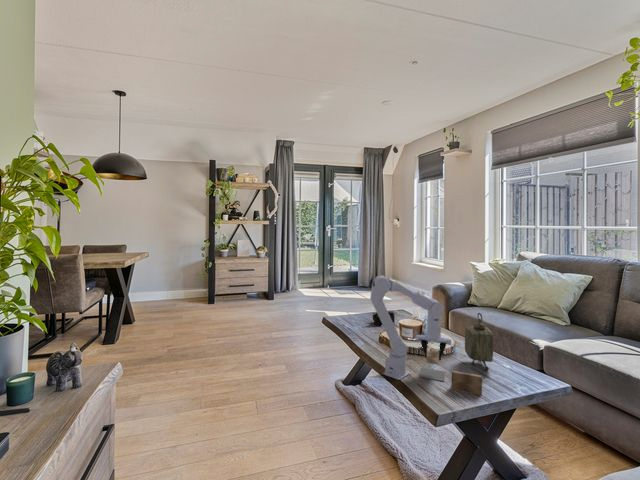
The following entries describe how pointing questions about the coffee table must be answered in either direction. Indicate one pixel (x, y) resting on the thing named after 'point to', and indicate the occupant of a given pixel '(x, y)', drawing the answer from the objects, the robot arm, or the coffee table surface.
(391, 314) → the film camera
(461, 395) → the coffee table surface
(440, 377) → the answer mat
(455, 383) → the walnut screen
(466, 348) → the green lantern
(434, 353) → the letter block
